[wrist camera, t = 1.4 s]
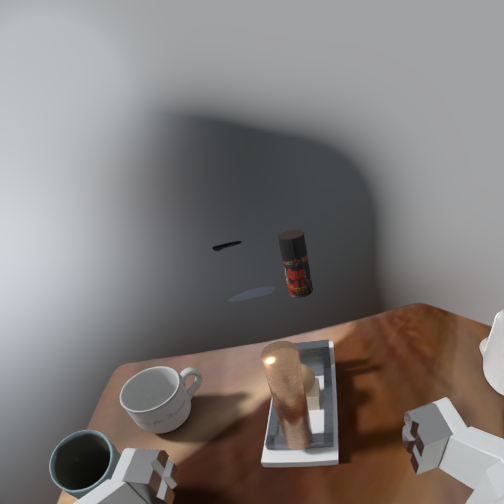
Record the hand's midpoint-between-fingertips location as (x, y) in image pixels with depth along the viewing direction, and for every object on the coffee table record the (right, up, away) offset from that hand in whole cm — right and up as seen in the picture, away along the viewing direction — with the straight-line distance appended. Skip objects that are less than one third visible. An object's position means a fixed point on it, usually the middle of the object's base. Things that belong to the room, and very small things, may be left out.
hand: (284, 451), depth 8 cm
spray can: (+11, -3, +68) cm, 69 cm away
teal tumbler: (-19, -29, +22) cm, 41 cm away
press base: (+7, -18, +34) cm, 39 cm away
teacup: (-14, -21, +38) cm, 46 cm away
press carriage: (+6, -16, +32) cm, 37 cm away
